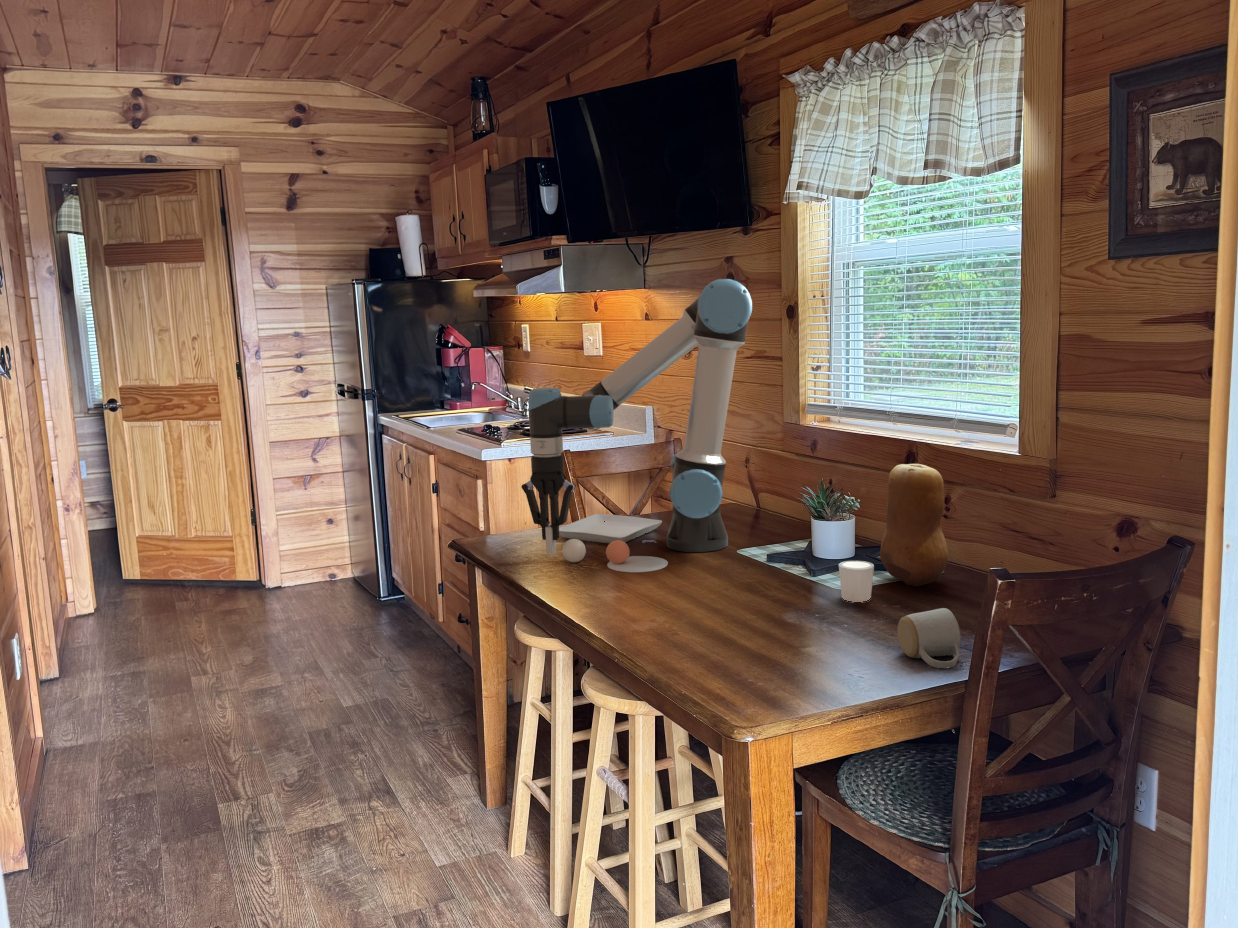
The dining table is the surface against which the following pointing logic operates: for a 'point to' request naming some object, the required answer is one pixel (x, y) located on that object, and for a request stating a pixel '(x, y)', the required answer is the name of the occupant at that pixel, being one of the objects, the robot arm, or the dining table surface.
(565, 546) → the ivory ball
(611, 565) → the oval plate
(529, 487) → the robot arm
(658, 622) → the dining table surface
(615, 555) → the coral ball
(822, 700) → the dining table surface
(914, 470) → the butternut squash
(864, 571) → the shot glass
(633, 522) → the salad plate
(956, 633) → the ceramic mug
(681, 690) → the dining table surface
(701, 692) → the dining table surface
